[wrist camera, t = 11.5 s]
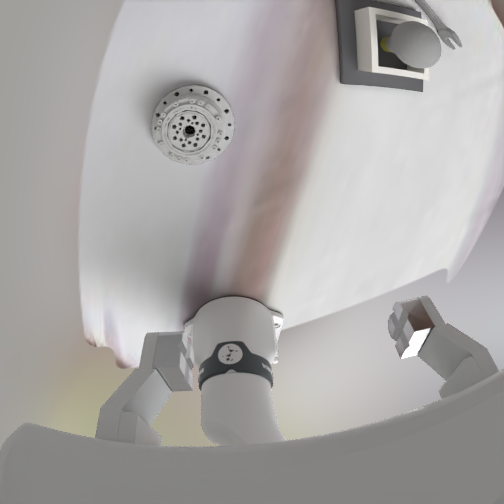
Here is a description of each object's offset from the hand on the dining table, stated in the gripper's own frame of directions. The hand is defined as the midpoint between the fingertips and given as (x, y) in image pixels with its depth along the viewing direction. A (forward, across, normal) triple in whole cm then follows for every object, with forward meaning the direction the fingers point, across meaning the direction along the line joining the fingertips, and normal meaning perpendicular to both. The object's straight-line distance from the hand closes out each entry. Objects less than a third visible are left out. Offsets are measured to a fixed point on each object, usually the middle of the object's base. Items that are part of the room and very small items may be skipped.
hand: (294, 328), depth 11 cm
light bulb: (+28, -18, -12) cm, 35 cm away
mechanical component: (+30, +6, -2) cm, 30 cm away
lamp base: (+29, -18, -12) cm, 36 cm away
